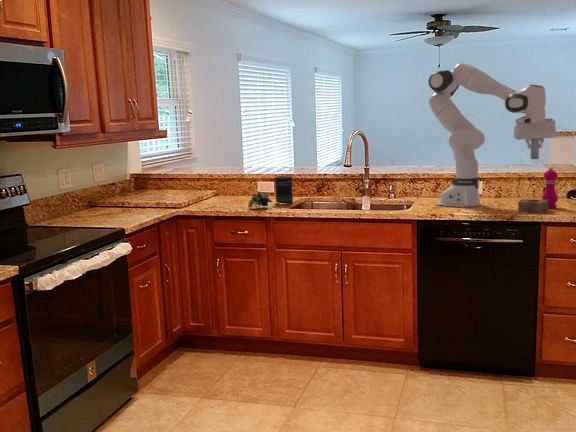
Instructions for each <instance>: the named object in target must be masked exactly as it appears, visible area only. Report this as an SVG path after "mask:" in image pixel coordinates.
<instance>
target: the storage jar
mask: <svg viewBox="0 0 576 432" xmlns="http://www.w3.org/2000/svg"><path fill="white" fill-rule="evenodd" d="M274 178H275V179H274V182H275V183H274V185H275V186H274V187H275V202H279V203H292V204H293V203H294V202H293V200H294V197H293V195H294V194H293V177H292V176H286V175H285V176H283V175H282V176H275V177H274Z"/></svg>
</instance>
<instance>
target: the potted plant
mask: <svg viewBox="0 0 576 432" xmlns="http://www.w3.org/2000/svg"><path fill="white" fill-rule="evenodd" d="M268 203H271V204H272V203H273V200H271V199H270V197H269V195H268V194H267V193H266V192H264V191H258V192H257V193H255V194H254V193H251V199H250V200H249V201H248V205H247V208H250V207H251V208H252V207H253V205H254V206H255V207H258V209H260V208H261V206H265V207H268V206H269V205H268ZM257 205H258V206H257Z"/></svg>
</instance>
